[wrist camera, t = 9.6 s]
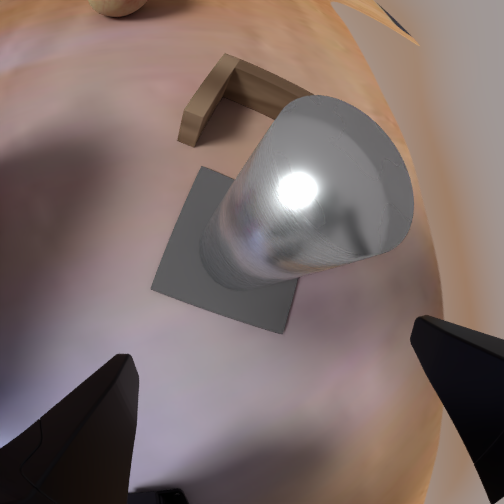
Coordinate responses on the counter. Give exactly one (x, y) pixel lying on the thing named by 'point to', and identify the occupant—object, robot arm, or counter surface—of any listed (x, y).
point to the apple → (116, 6)
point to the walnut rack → (236, 94)
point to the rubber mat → (195, 276)
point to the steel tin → (309, 198)
